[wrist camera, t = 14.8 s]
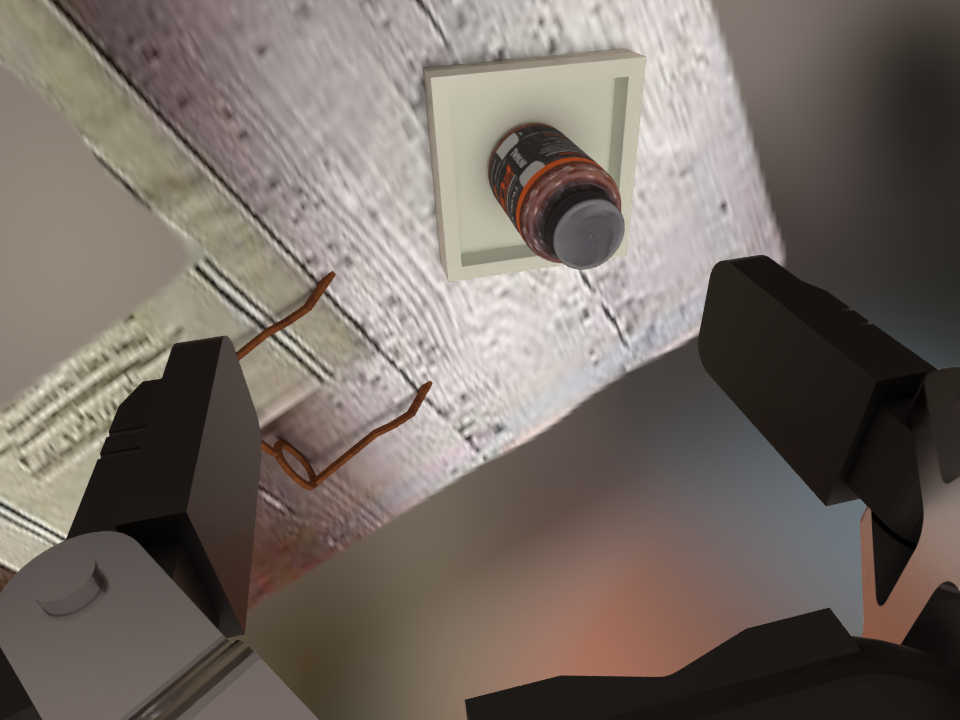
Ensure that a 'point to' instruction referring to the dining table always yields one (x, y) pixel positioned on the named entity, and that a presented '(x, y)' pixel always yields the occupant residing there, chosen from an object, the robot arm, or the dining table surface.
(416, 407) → the glasses
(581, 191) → the supplement bottle
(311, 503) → the dining table surface
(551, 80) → the tray
